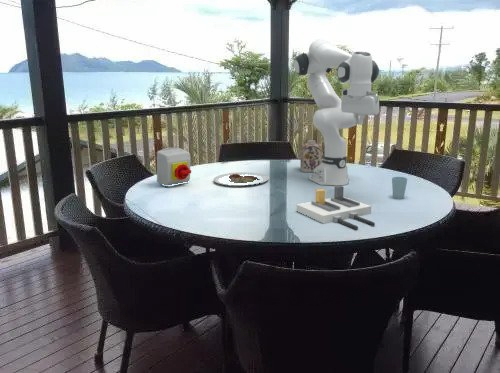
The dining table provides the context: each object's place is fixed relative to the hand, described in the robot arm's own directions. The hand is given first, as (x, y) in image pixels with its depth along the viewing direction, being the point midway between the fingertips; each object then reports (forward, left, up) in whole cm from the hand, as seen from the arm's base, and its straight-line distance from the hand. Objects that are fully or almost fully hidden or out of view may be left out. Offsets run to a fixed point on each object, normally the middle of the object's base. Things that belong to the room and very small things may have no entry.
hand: (358, 124), depth 181 cm
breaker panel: (+10, -21, -34) cm, 41 cm away
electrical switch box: (-71, -61, -34) cm, 99 cm away
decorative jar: (-62, +20, -34) cm, 74 cm away
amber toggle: (+6, -25, -31) cm, 40 cm away
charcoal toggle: (+6, -15, -31) cm, 35 cm away
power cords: (+25, -23, -34) cm, 48 cm away
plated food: (-60, -28, -34) cm, 74 cm away
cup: (+8, +18, -34) cm, 39 cm away
